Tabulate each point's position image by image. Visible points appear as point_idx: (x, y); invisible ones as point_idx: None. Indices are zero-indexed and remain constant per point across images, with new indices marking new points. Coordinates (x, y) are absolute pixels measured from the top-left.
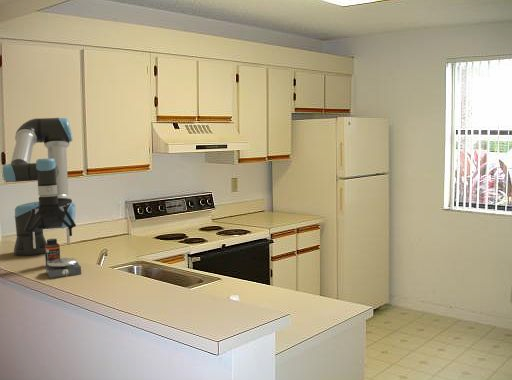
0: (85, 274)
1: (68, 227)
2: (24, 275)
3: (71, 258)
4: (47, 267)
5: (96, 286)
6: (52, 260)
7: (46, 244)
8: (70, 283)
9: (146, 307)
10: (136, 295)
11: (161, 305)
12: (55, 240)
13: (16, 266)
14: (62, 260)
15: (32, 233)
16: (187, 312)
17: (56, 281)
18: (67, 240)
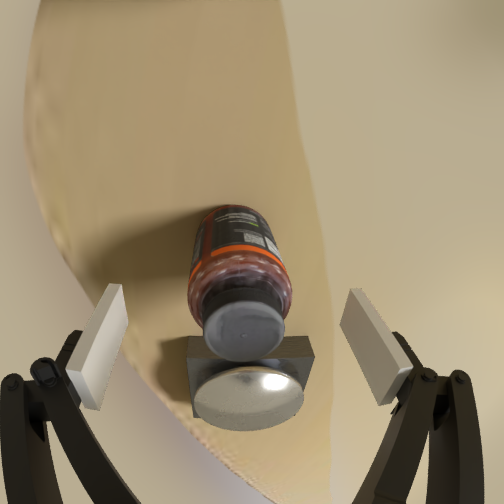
0: None
1: (395, 412)
2: None
3: (292, 385)
4: (191, 387)
5: (280, 458)
6: (214, 381)
7: (199, 303)
8: (240, 439)
9: (294, 497)
10: (308, 482)
11: (310, 495)
12: (266, 351)
13: (64, 145)
14: (252, 396)
15: (81, 393)
16: (317, 501)
17: None
18: (354, 320)
